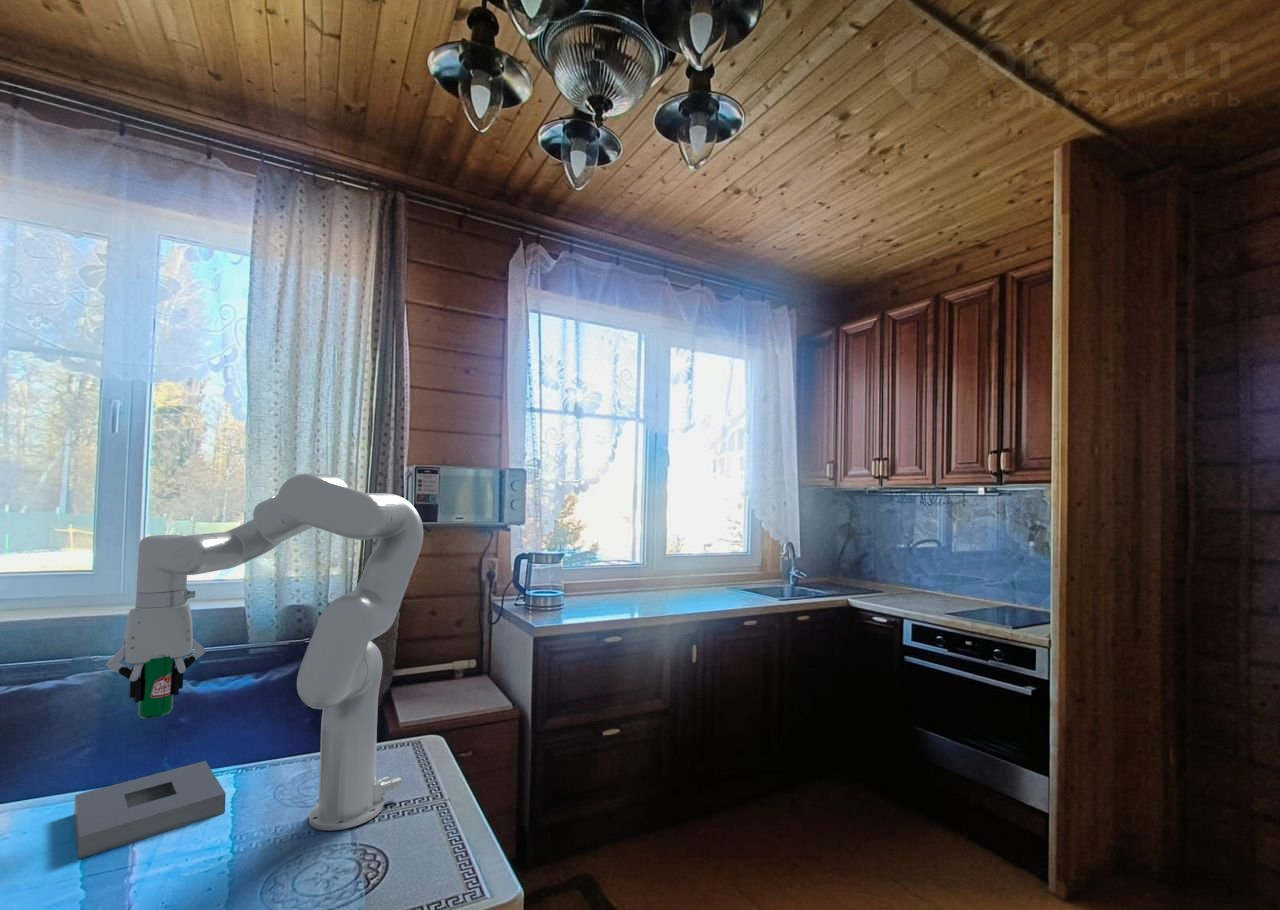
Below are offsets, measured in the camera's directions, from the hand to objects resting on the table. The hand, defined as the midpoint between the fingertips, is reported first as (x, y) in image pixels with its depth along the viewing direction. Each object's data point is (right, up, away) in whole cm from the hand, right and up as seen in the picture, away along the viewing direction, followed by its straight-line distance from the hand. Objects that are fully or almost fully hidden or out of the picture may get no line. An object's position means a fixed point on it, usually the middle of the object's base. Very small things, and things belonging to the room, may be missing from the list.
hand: (156, 696), depth 112 cm
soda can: (0, -4, 0) cm, 4 cm away
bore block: (0, -22, -1) cm, 22 cm away
